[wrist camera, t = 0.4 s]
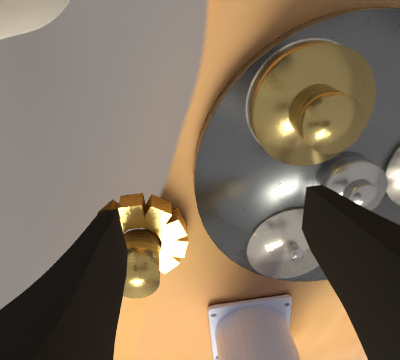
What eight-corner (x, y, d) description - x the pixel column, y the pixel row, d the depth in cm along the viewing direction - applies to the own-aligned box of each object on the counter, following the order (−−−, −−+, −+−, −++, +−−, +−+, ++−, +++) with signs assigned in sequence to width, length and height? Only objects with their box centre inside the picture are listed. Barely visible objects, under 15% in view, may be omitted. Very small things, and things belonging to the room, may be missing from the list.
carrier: (429, 253, 29) (479, 302, 25) (205, 285, 28) (213, 342, 24) (533, -10, 18) (658, -12, 14) (176, 27, 17) (181, 38, 13)
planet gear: (190, 258, 26) (196, 309, 22) (105, 270, 26) (93, 324, 22) (181, 188, 23) (185, 233, 18) (81, 200, 22) (62, 249, 18)
